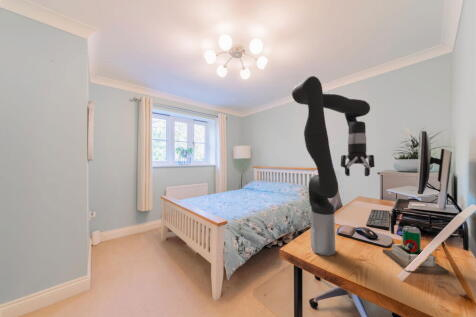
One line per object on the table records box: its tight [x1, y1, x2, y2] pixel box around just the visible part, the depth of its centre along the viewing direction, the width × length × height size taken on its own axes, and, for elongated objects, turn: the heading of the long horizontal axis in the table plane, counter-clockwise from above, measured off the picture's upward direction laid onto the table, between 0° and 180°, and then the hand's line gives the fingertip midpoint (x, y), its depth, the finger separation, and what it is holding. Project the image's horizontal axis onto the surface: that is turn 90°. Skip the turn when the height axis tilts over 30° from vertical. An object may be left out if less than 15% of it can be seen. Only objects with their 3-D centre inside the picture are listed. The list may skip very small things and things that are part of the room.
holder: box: [382, 243, 450, 275], centre depth 68 cm, size 13×13×5 cm
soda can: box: [401, 225, 422, 255], centre depth 69 cm, size 5×5×12 cm
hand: (357, 176), depth 87 cm, fingers open, 8 cm apart
